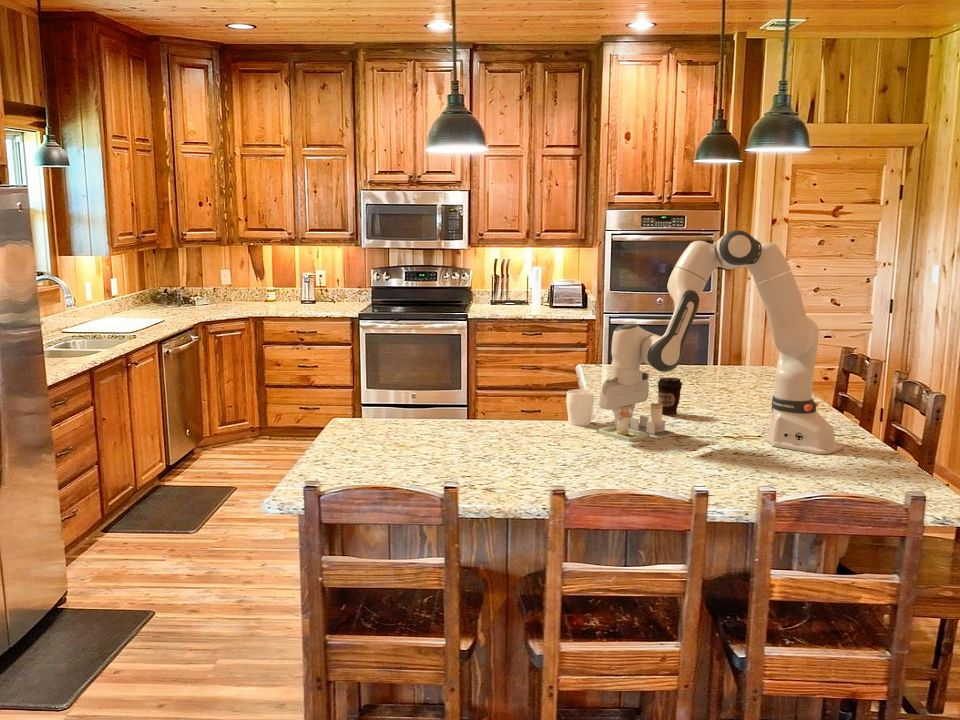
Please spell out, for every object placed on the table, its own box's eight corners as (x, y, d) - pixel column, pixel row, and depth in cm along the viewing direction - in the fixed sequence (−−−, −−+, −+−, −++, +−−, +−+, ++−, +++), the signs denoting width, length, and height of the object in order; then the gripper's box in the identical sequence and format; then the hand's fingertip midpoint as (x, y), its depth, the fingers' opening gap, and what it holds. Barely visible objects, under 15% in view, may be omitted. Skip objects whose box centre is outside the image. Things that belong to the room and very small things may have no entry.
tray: (649, 441, 269) (649, 433, 269) (631, 446, 263) (631, 438, 263) (614, 432, 280) (614, 425, 279) (596, 437, 274) (596, 429, 273)
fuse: (663, 431, 275) (664, 404, 273) (656, 433, 273) (657, 406, 271) (654, 429, 278) (655, 402, 276) (647, 431, 275) (648, 404, 274)
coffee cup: (673, 418, 298) (675, 382, 296) (651, 415, 303) (653, 379, 300) (684, 414, 305) (686, 378, 302) (662, 410, 310) (664, 375, 307)
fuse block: (674, 436, 275) (675, 421, 274) (659, 441, 269) (659, 425, 269) (620, 423, 291) (620, 409, 290) (604, 427, 286) (605, 413, 285)
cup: (561, 428, 284) (562, 393, 282) (571, 422, 292) (572, 388, 290) (587, 432, 280) (588, 396, 278) (596, 425, 288) (597, 390, 286)
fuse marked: (631, 433, 271) (632, 405, 269) (623, 435, 269) (624, 407, 267) (621, 431, 274) (622, 403, 272) (614, 433, 271) (615, 405, 270)
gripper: (611, 382, 259) (609, 426, 261) (652, 373, 272) (651, 415, 275) (595, 378, 263) (594, 422, 266) (636, 370, 277) (635, 412, 279)
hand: (623, 419), depth 270 cm, fingers closed on fuse marked, 4 cm apart
